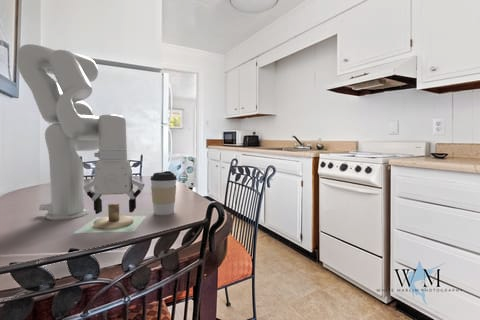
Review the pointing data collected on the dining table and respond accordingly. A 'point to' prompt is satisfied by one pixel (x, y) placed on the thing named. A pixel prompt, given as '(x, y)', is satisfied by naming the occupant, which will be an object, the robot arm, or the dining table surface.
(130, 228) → the mat
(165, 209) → the coffee cup
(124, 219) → the lid
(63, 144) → the robot arm
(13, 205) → the dining table surface
